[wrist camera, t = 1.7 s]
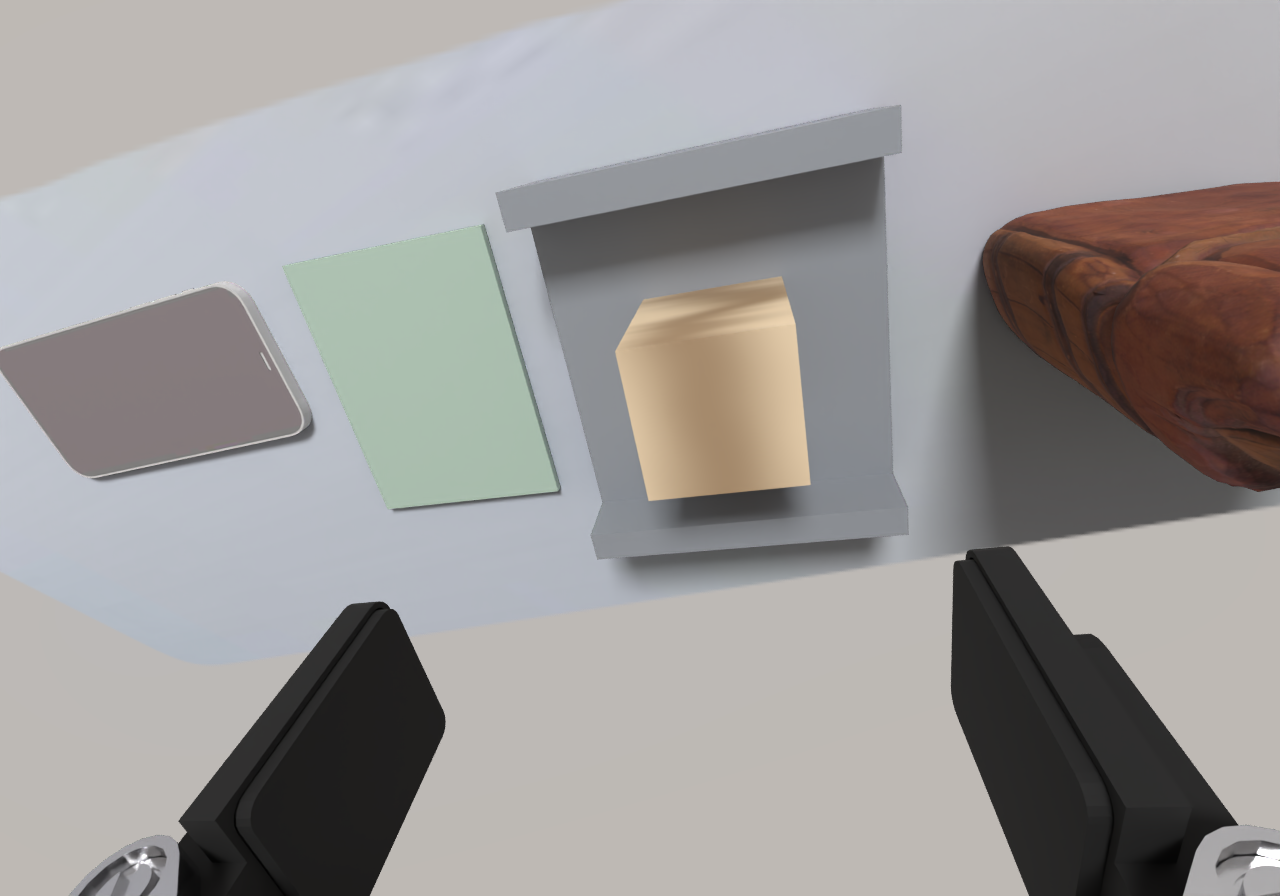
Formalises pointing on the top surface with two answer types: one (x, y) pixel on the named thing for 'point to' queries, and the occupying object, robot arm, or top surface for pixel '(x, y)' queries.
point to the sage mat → (428, 368)
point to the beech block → (716, 391)
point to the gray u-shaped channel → (719, 256)
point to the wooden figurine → (1160, 315)
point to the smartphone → (158, 382)
